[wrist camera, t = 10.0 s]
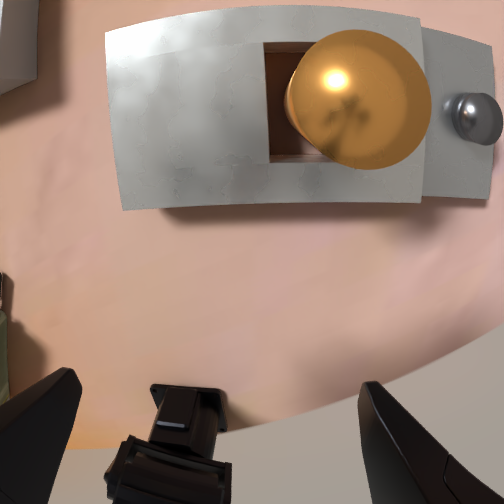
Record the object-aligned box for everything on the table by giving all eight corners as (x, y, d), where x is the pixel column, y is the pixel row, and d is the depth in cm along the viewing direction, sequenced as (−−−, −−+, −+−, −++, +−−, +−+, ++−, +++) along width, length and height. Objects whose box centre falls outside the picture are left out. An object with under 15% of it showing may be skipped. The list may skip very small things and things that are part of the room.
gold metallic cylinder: (361, 141, 17) (429, 172, 9) (285, 141, 17) (294, 169, 9) (359, 68, 15) (428, 39, 7) (281, 66, 16) (288, 26, 7)
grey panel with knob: (476, 192, 18) (501, 206, 15) (142, 195, 19) (122, 210, 17) (479, 48, 13) (505, 44, 11) (128, 41, 15) (105, 32, 12)
